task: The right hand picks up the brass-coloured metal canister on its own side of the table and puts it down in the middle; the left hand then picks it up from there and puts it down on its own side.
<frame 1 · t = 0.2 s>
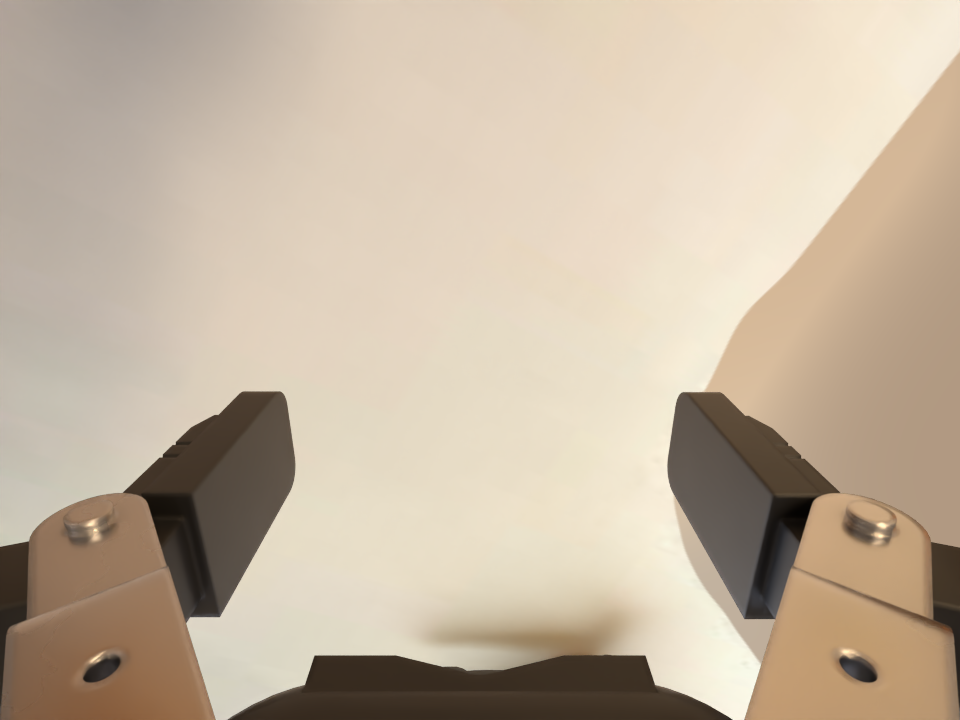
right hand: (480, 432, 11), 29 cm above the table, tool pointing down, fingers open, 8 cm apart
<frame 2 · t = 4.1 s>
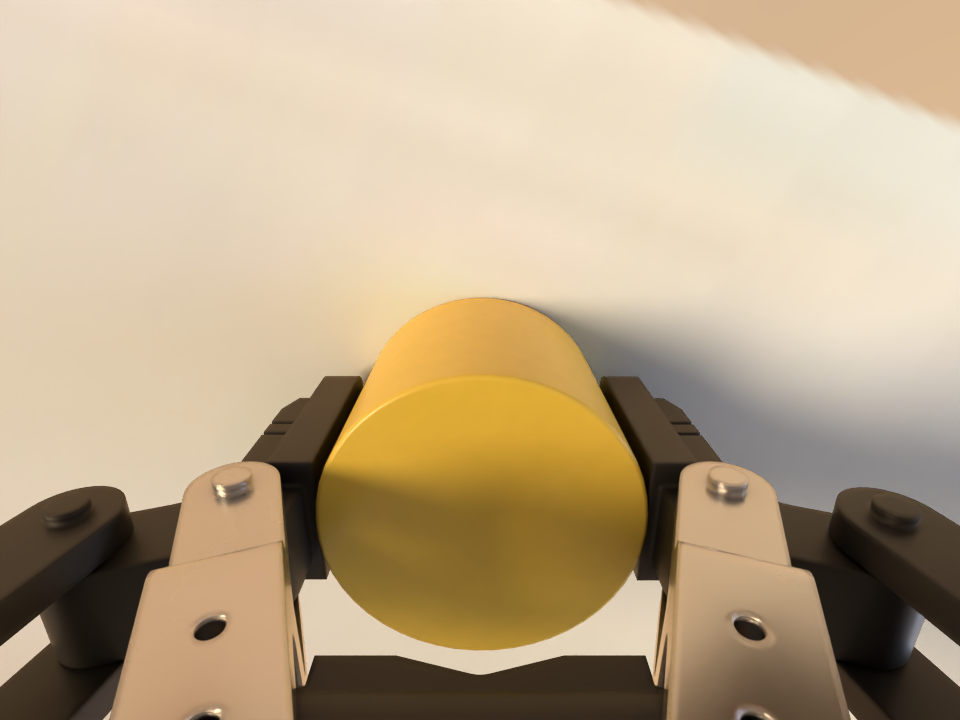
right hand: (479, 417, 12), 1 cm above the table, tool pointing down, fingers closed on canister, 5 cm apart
canister: (481, 406, 12), on the table, touching right hand
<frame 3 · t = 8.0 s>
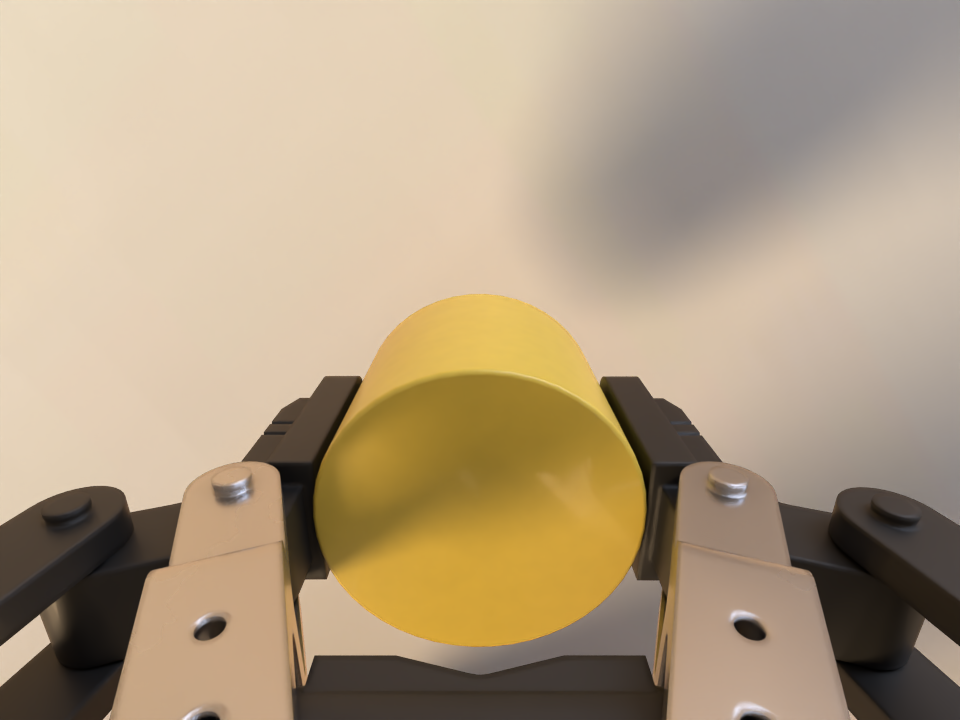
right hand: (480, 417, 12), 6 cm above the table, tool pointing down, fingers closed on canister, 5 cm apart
canister: (479, 403, 12), point 5 cm above the table, touching right hand
when the right hand's fingers open (2 cm above the table, at t = 12.0 s): canister drops 1 cm, on the table.
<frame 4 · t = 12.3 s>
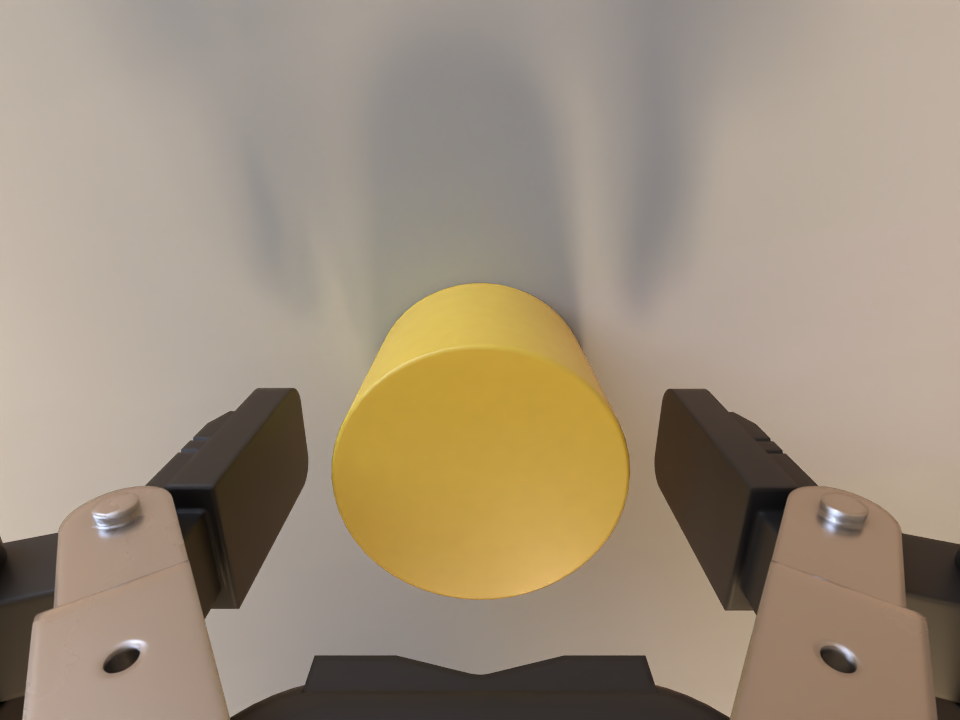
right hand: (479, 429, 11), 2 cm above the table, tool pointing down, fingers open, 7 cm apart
canister: (480, 385, 13), on the table
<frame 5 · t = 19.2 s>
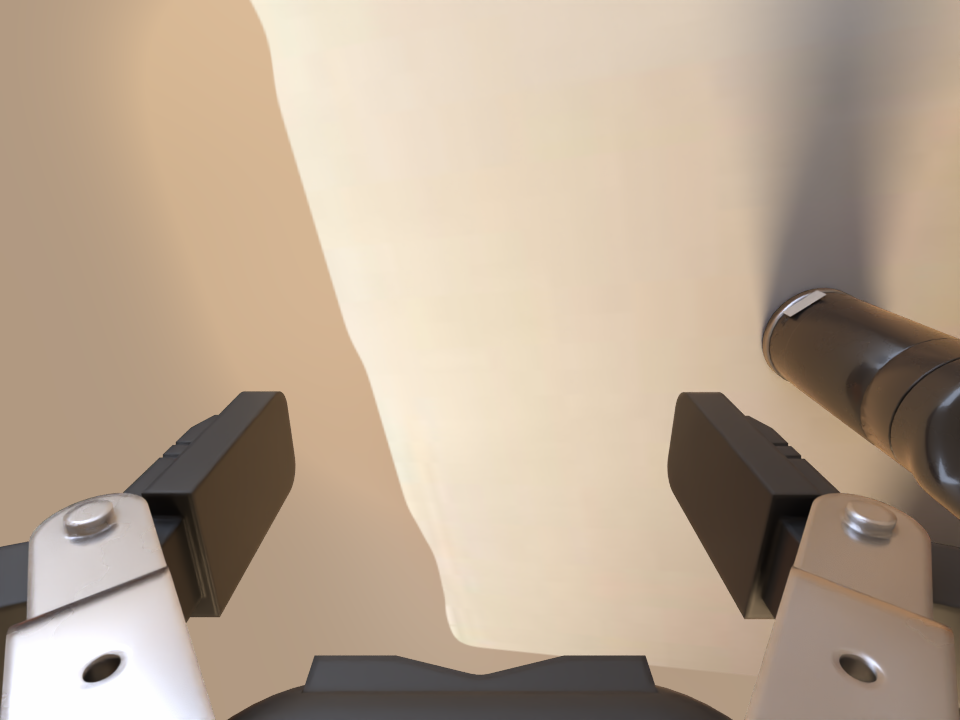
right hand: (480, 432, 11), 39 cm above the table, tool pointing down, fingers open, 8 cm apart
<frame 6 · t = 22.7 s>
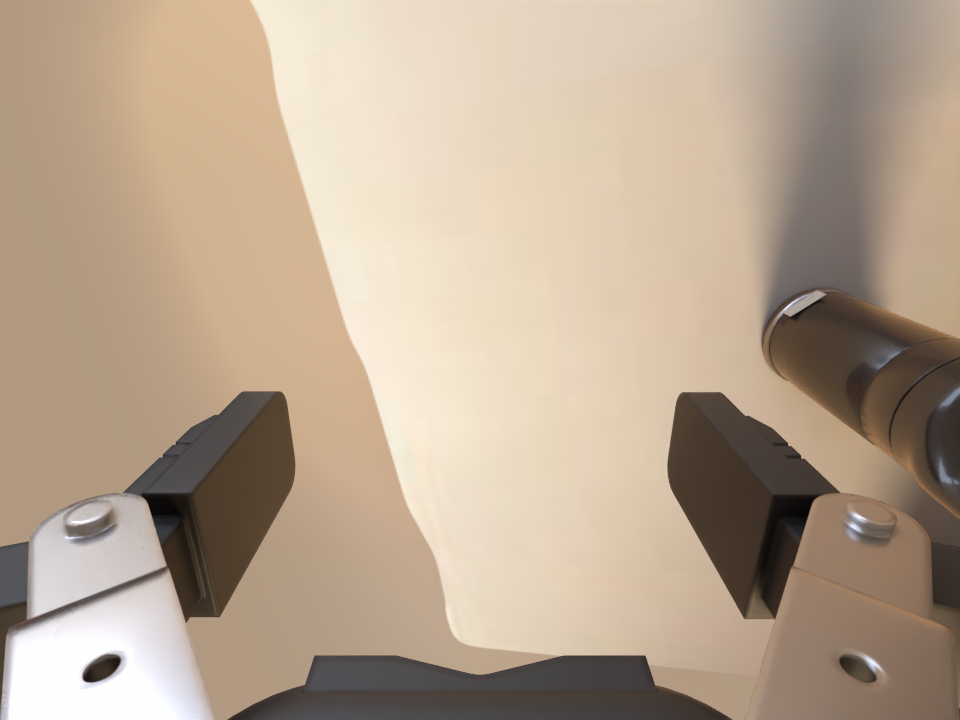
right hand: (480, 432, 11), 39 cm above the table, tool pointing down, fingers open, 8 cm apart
when the left hand's fingers open (1 cm above the table, at t = 26.4 s): canister drops 1 cm, on the table.
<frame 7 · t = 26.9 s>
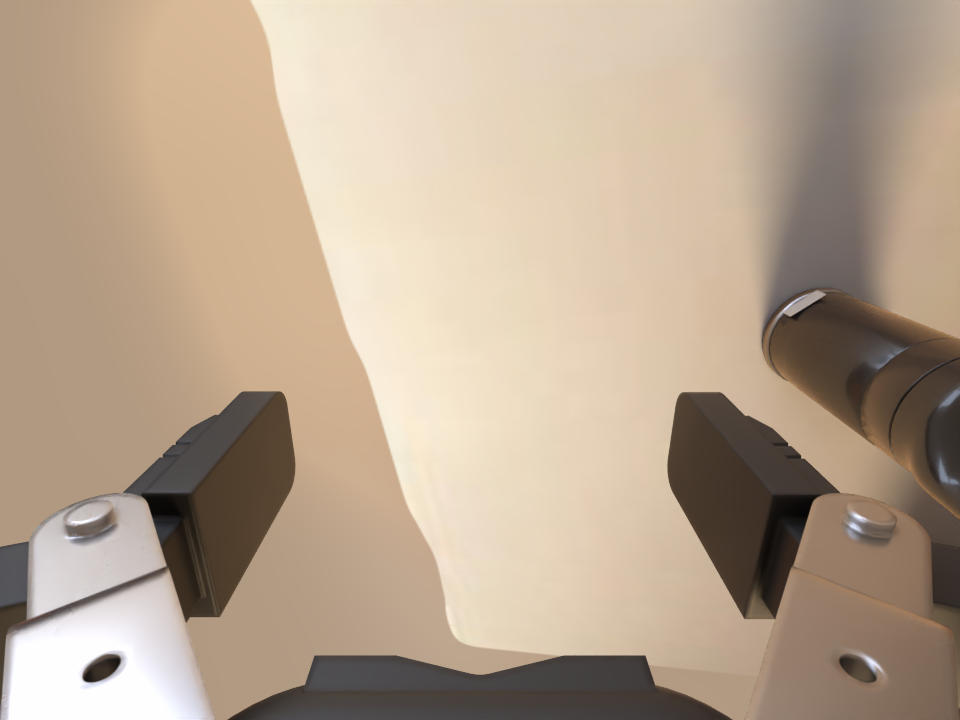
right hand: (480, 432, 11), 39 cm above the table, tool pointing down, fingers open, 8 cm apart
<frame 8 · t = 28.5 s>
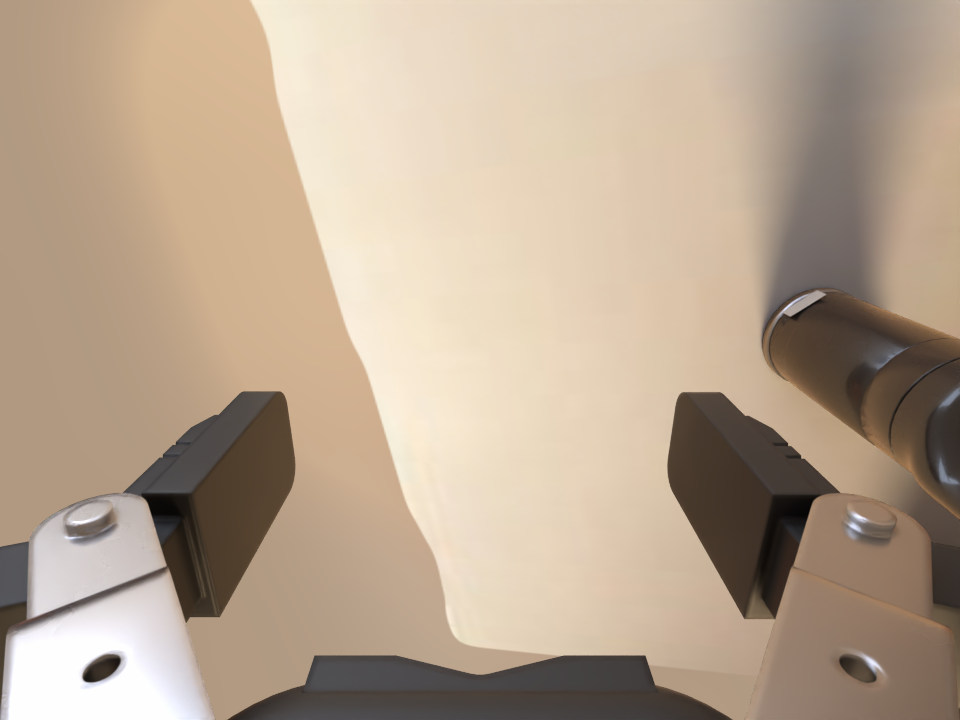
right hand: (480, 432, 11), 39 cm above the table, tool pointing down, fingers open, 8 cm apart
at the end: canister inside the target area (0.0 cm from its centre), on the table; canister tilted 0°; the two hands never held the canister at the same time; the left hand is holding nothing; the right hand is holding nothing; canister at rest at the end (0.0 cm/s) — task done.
